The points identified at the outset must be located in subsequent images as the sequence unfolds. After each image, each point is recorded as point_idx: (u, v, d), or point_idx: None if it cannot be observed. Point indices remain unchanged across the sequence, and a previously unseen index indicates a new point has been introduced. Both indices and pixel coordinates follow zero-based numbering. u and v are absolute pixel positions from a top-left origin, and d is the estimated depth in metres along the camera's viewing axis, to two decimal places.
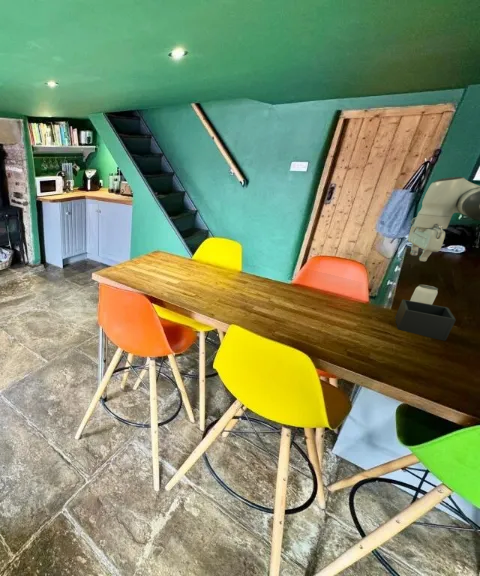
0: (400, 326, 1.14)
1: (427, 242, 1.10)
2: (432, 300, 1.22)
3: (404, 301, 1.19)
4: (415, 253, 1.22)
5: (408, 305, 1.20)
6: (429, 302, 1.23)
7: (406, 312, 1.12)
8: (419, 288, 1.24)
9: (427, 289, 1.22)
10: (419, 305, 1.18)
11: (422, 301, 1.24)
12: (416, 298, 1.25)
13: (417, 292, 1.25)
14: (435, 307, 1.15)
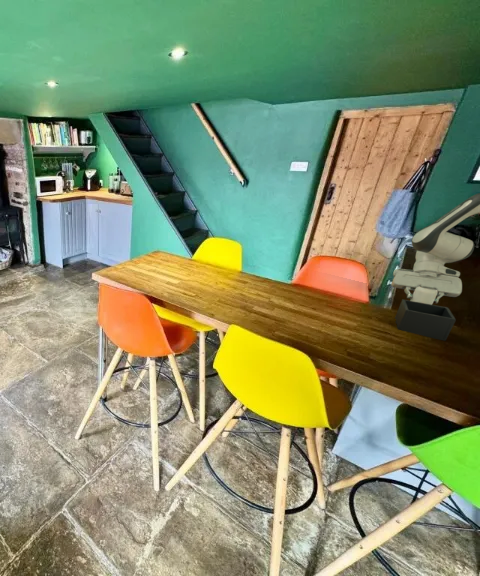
0: (400, 326, 1.14)
1: None
2: (432, 300, 1.22)
3: (404, 301, 1.19)
4: None
5: (408, 305, 1.20)
6: (429, 302, 1.23)
7: (406, 312, 1.12)
8: (419, 288, 1.24)
9: (427, 289, 1.22)
10: (419, 305, 1.18)
11: (422, 301, 1.24)
12: (416, 298, 1.25)
13: (417, 292, 1.25)
14: (435, 307, 1.15)
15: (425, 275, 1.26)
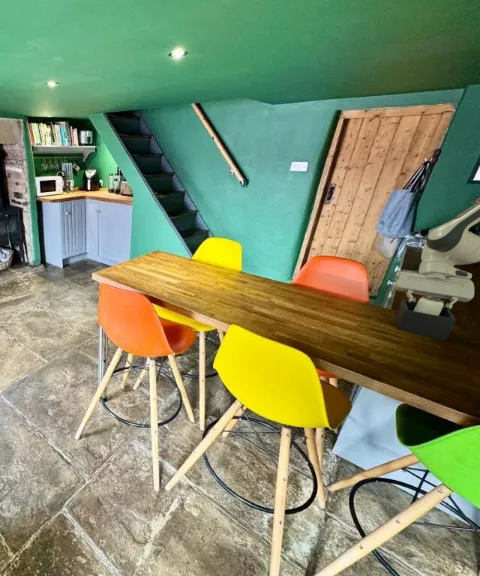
0: (400, 326, 1.14)
1: None
2: (437, 313, 1.10)
3: (404, 301, 1.19)
4: (446, 305, 1.10)
5: (408, 305, 1.20)
6: None
7: (406, 312, 1.12)
8: (423, 300, 1.12)
9: (431, 301, 1.10)
10: None
11: None
12: (420, 310, 1.13)
13: (420, 304, 1.12)
14: None
15: (432, 277, 1.14)
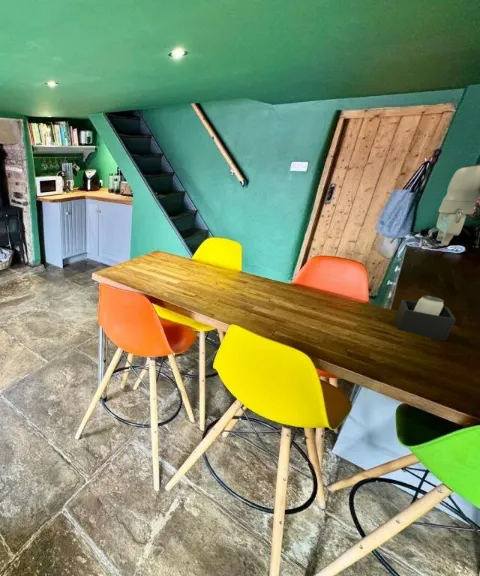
0: (400, 326, 1.14)
1: (447, 226, 1.16)
2: (437, 313, 1.10)
3: (404, 301, 1.19)
4: (441, 239, 1.26)
5: (408, 305, 1.20)
6: None
7: (406, 312, 1.12)
8: (423, 300, 1.12)
9: (431, 301, 1.10)
10: None
11: None
12: (420, 310, 1.13)
13: (420, 304, 1.12)
14: None
15: None
